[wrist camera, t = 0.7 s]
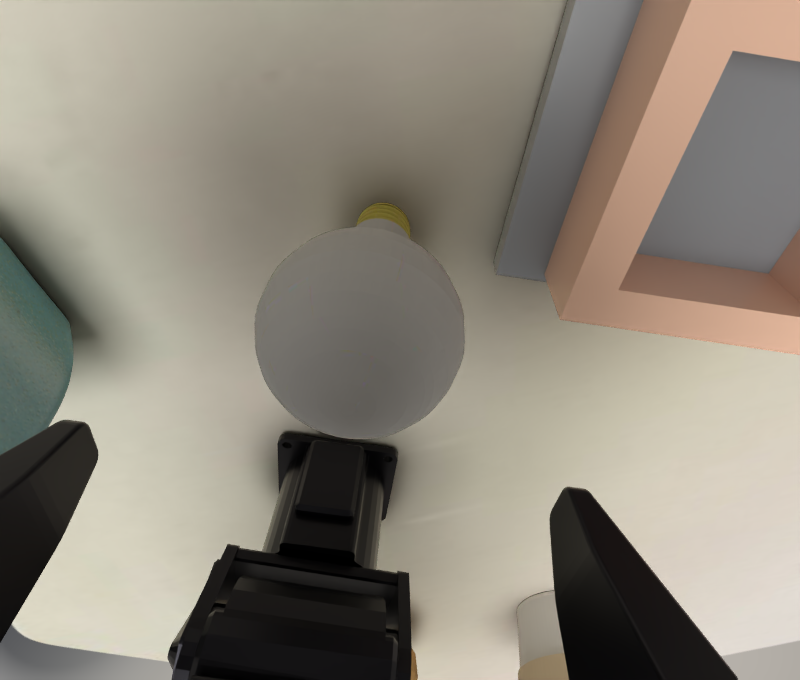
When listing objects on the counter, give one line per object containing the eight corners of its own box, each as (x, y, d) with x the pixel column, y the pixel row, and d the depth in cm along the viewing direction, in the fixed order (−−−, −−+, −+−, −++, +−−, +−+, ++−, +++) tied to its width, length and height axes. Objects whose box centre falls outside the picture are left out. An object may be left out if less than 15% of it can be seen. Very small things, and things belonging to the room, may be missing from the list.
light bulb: (455, 143, 17) (471, 299, 9) (456, 280, 20) (469, 484, 12) (301, 153, 17) (186, 308, 9) (327, 285, 21) (257, 483, 13)
